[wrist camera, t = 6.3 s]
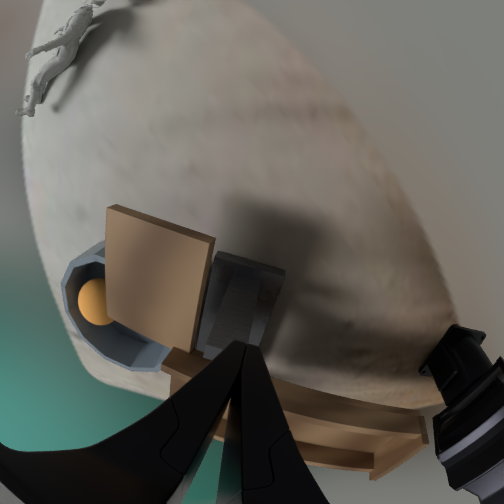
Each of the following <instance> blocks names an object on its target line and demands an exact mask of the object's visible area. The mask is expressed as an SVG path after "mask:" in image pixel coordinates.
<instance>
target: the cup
mask: <svg viewBox="0 0 504 504" xmlns="http://www.w3.org/2000/svg"><path fill="white" fill-rule="evenodd" d="M95 278H103V279H105V241H102V242H99V243H97V244H96V245H94V246H93V247H91V248H90V249H88V250H87V251H85V252H84V253H82V254H81V255H79V256H78V257H77V258H75V259H74V260H72V261H71V262H70V263H69V266H68V268H67V270H66V272H65V275H64V277H63V279H62V282H61V289H62V296H63V302H64V307H65V312H66V313H67V315H68V317H69V319H70V320H71V322H72V324H73V325H74V327H75V329H76V330H77V332H78V334H79V335H80V337H81V338H82V339H83V340H84V341H85V342H86V343H87V344H88V345H89V346H90V347H92V348H93V349H94V350H95V351H96V352H97V353H98V354H99V355H101V356H102V357H103V358H105V359H106V360H108V361H110V362H112V363H114V364H116V365H119V366H121V367H123V368H125V369H128V370H130V371H139V372H158V371H160V370H161V363H162V362H163V360H164V359H165V358H166V356H167V355H168V354H169V352H170V351H171V350H172V349H171V348H168V347H166V346H164V345H162V344H160V343H158V342H156V341H154V340H152V339H150V338H148V337H146V336H144V335H142V334H140V333H138V332H136V331H134V330H132V329H130V328H128V327H126V326H124V325H123V324H121V323H119V322H117V321H115V320H114V321H113V322H111V323H110V324H107V325H95V324H93V323H91V322H89V321H88V320H86V319H85V317H84V316H83V315H82V313H81V311H80V309H79V305H78V296H79V292H80V290H81V288H82V287H83V285H84V284H85V283H87V282H88V281H90V280H92V279H95Z"/></svg>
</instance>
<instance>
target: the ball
mask: <svg viewBox="0 0 504 504" xmlns="http://www.w3.org/2000/svg"><path fill="white" fill-rule="evenodd" d="M78 305H79V309H80V311H81V313H82V315H83V316H84V317H85V319H86V320H88V321H89V322H91V323H93V324H95V325H107V324H110V323H111V322H113V321H114V319H112V318H110V317H108V316H107V302H106V282H105V279H103V278H95V279H92V280H90V281H88V282H87V283H85V284H84V285H83V287H82V288H81V290H80V292H79V296H78Z"/></svg>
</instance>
